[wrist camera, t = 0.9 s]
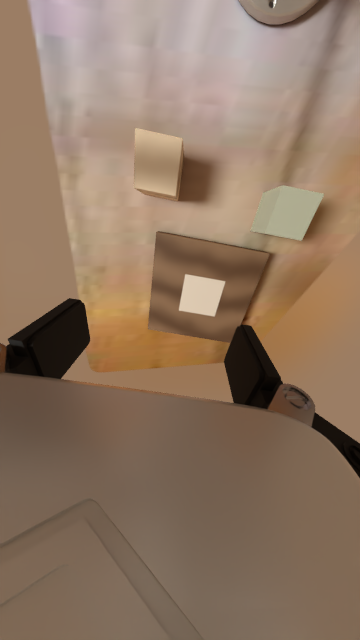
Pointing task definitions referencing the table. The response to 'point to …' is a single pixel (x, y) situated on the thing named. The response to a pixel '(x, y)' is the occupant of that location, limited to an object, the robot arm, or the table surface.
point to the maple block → (158, 164)
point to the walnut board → (202, 286)
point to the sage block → (286, 212)
